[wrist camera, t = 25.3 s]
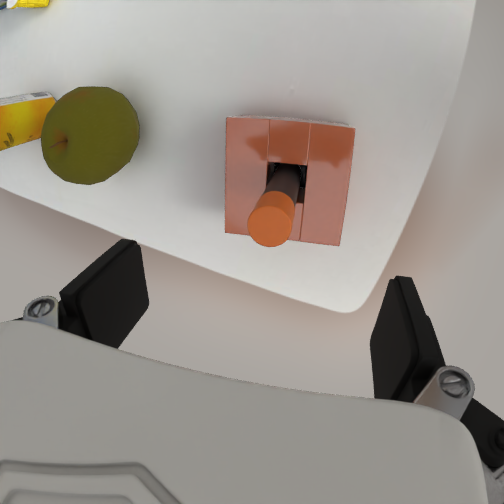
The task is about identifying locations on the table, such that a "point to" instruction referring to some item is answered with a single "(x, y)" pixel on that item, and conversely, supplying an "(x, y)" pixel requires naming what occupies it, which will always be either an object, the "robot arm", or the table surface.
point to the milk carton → (3, 4)
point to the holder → (291, 152)
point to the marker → (276, 207)
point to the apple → (89, 135)
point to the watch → (26, 3)
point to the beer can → (23, 118)
